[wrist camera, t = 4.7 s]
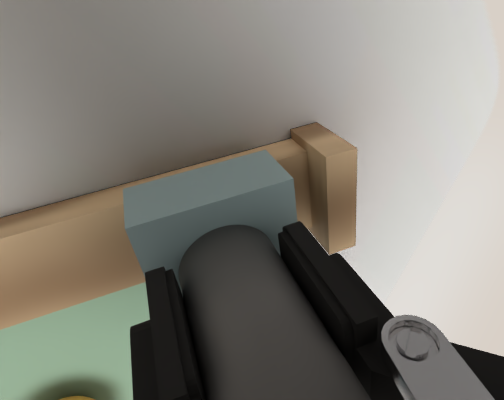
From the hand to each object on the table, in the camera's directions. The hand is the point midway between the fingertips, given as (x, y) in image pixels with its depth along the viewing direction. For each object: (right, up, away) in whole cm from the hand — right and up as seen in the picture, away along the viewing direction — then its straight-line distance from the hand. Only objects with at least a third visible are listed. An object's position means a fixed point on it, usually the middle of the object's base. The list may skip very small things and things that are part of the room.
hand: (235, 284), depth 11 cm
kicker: (-1, -1, +6) cm, 6 cm away
